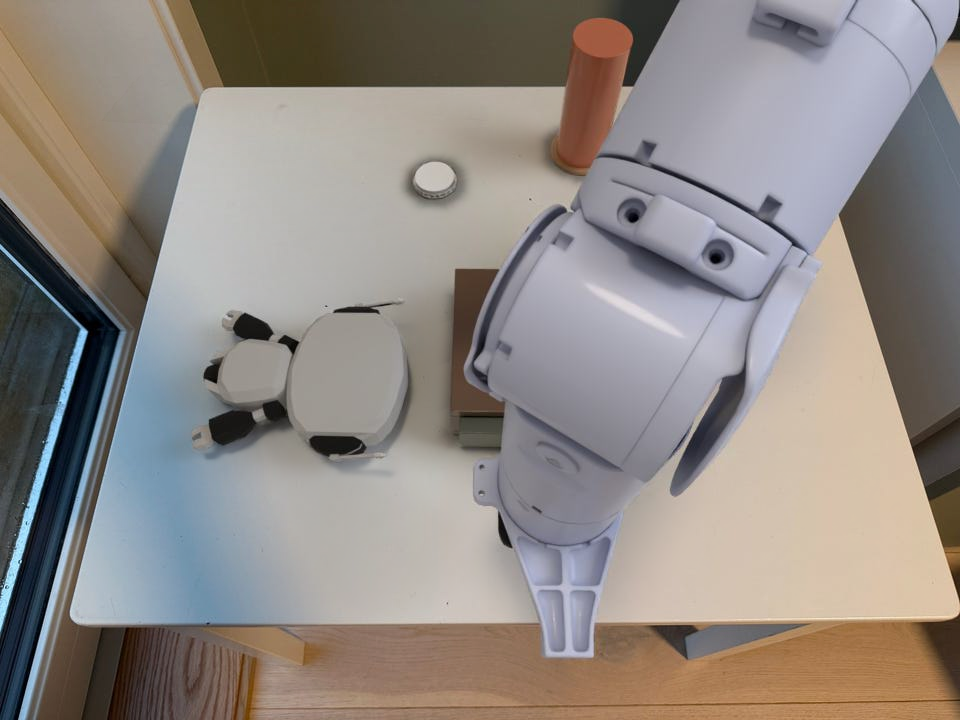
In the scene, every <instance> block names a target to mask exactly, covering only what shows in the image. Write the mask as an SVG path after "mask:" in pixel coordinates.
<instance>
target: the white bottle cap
mask: <svg viewBox="0 0 960 720" xmlns="http://www.w3.org/2000/svg"><path fill="white" fill-rule="evenodd" d="M411 179H412V184H413V188H414V190H415V192H417V193H418V194H419V195H421V196H422V197H425V198H428V199H441V198H445V197H447V196H449V195H450V194H452V193H453V192H454V190H455V189H456V187H457V185H458V174H457V171H456V169H455V167H453V165H451V164H450V163H448V162H446V161H443V160H440V159H432V160H427V161H424V162H422V163H421V164H419V165H418V166H417V167H415V169H414V171H413V173H412V178H411Z"/></svg>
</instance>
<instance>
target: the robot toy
mask: <svg viewBox="0 0 960 720" xmlns="http://www.w3.org/2000/svg"><path fill="white" fill-rule="evenodd" d="M406 301H407V300H406V299H404V298H394V299H393V300H386V301H380V302H374V303H366V304H363V303H362V302H360V303H355V304H354V305H353V306H349V305H348V306H346V307H340V308H337V309H334V310H333V311H332V312H327V313H325V314H324V315H322V316H320V317H317V318H316V319H315V320H314V321H313V322H312V323H311V324H310V325H309V326H308V327H307V329H306V330H305V331H304V333H303V334H302V336H301V338H300V341H299V340H298V339H296V338H293V337H291V336H289V335H287V334H283V335H282V336H281V337H280V336H278V335H276V334H275V332H274V330H273V329H272V328H271V326H270V325H269V323H268V322H266V321H264V320H262V319H261V318H258V317H256V316H254V315H252V314H250V313H247V312H243V311H241V310H237V309H236V310H235V309H230V310H228V311H227V312H226V314H225V315H226V316H227V317H228V318H230V320H229V319H228V318H225V317H223V318H222V319H221V322H220V323H221V327H222V328H223V329H224V330H225V331H227V332H233V333H234V335H235V336H237V337H238V338H240V339H242V340H241V341H238V342H236V343H235V344H234V345H233V346H230V347H227V348H223V349H221V350H217V351H216V352H215V353H214V354H213V355H212V357H211V358H210V359H209V362H210V363H211V364H210V365H208V366H206V368H205V369H204V372H203V375H202V378H203V381H204V383H205V387H206V389H207V390H208V391H209V392H210V393H211V394H212V395H214V396H215V398H217V399H218V400H219V401H220V402H222V403H224V404H227V405H229V406H231V407H232V408H233V409H235V410H233V409H232V410H229V411H227V412H224V413H221V414H219V415H216V416H214V417H211V418H209V419H208V425H198V426H197V427H196V428H194V429H193V430H191V432H190V435H189V437H190V440H191V447H192V448H193V449H194V450H196V451H204V450H209V449H210V448H211V447H213V445H215V443H216V444H217V445H218V446H222V447H224V446H226V445H228V444H231V443H233V442H236V441H238V440H242V439H244V438H246V437H247V436H248V435H249V433H250V432H251V431H252V430H253V429H254V428H255V427H256V425H257V424H258V423H259V422H262V421H265V420H268V421H270V422H271V423H274V422H277V421H280V420H282V419H285V418H287V415H288V420H289V422H290V423H291V425H292V427H293V429H294V431H295V432H296V434H298V435H299V437H301V439H303V441H305V442H307V443H308V444H309V446H310V447H311V449H312V450H314V452H316V453H317V454H320V455H322V456H324V457H326V458H328V459H329V460H328V461H330V462H333V463H341V462H343V461H344V460H359V459H360V460H362V459H384V458H385V457H387V456H388V454H386V453H384V452H381V451H379V452H374V453H365V452H366V449H367V448H369V447H372V446H375V445H378V444H381V443H382V442H383V441H384V440H385V439H386V438H387V436H389V434H391V432H392V430H393V429H394V427H395V425H396V424H397V421H398V419H399V416H400V414H401V411H402V408H403V405H404V401H405V397H406V395H407V390H408V388H409V373H408V358H407V353H406V349H405V345H404V342H403V340H402V337H401V334H400V332H399V330H398V328H397V326H396V325H395V323H394V322H393V320H392V319H391V318H389V317H387V316H384V315H382V314H381V313H380V311H379V309H376V308H381V307H386V306H394V305H396V306H400V305H403V304H405V302H406ZM286 411H287V412H286Z"/></svg>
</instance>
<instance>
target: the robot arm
mask: <svg viewBox="0 0 960 720" xmlns="http://www.w3.org/2000/svg"><path fill="white" fill-rule="evenodd" d="M959 10H960V0H679V1H678V3H677V4H676V7H675V8H674V11H672V15H671V16H670V18H669V20H668V22H667V24H665V28H664V29H663V31H662V33H661V35H660V36H659V38H658V41H657V42H656V44H655V46H654V48H653V49H652V51H651V53H650V55H649V57H648V59H647V61H646V62H645V64H644V66H643V68H642V70H641V72H640V74H639V76H638V77H637V79H636V81H635V83H634V85H633V87H632V88H631V90H630V93H629V94H628V96H627V98H626V100H625V102H624V103H623V106H622V107H621V108H620V111H619V113H618V114H617V117H616V118H615V119H614V121H613V125H612V128H611V130H610V131H609V133H608V135H607V137H606V139H605V141H604V143H603V144H602V146H601V148H600V150H599V152H598V154H597V156H596V159H595V160H594V161H593V163H592V165H591V167H590V169H589V170H588V172H587V174H586V175H584V178H583V180H582V181H581V184H580V185H579V188H578V190H577V192H576V194H575V196H574V197H573V200H572V202H571V204H570V206H569V207H570V210H571V211H568V209H567V208H566V207H565V206H564V205H562V204H560V203H555V204H552V205H551V206H549V207H547V208H546V209H545V210H543V211H542V212H541V213H539V215H538V216H537V217H535V218H534V220H533V221H532V222H531V223H530V224H529V225H528V226H527V228H526V230H525V231H524V232H523V233H522V234H521V235H520V236H519V238H518V240H517V241H516V242H515V244H514V245H513V247H512V249H511V250H510V252H509V253H508V254H507V256H506V258H505V259H504V262H502V265H501V267H500V268H499V269H500V270H499V272H498V274H497V275H496V277H495V279H494V281H493V283H492V285H491V287H490V290H489V292H488V294H487V296H486V298H485V301H484V303H483V306H482V308H481V311H480V313H479V316H478V319H477V323H476V326H475V330H474V334H473V340H472V346H471V349H470V352H469V355H468V357H467V360H466V362H465V365H464V375H465V378H466V380H467V381H468V382H469V383H470V384H471V385H473V386H475V387H476V388H478V389H480V390H481V391H483V392H486V393H489V395H490V396H492V397H493V398H495V399H497V400H498V401H500V402H502V401H504V402H505V411H504V422H503V432H502V443H501V447H500V451H499V453H498V455H496V456H494V457H483V458H479V459H477V460H476V461H475V462H474V465H473V468H472V497H473V500H474V503H476V504H477V505H479V506H482V507H493V508H495V509H496V510H497V533H498V536H499V539H500V541H501V543H502V545H503V546H505V547H507V548H509V549H511V550H512V551H513V553H514V556H515V558H516V561H517V563H518V566H519V570H520V572H521V575H522V577H523V580H524V582H525V586H526V588H527V591H528V593H529V596H530V599H531V602H532V604H533V605H532V606H533V607H534V611H535V614H536V617H537V621H538V624H539V629H540V636H539V649H540V651H539V652H540V653H539V654H540V655H539V656H540V658H542V659H592V658H594V656H595V652H594V651H595V644H594V639H595V637H594V635H595V625H596V618H597V615H598V614H597V613H598V608H599V605H600V602H601V597H602V594H603V589H604V586H605V582H606V579H607V575H608V572H609V568H610V565H611V560H612V557H613V554H614V550H615V546H616V544H617V543H616V542H617V539H618V535H619V531H620V528H621V524H622V521H623V518H624V517H623V516H624V512H625V510H626V508H627V507H628V506H629V505H630V504H631V503H632V502H633V500H634V499H636V497H637V496H638V495H639V494H640V493H641V492H642V491H643V490H644V489H645V488H646V486H648V484H649V483H650V482H651V481H652V480H653V479H654V478H655V476H657V474H659V472H660V471H661V470H662V469H663V468H664V467H665V466H666V465H667V464H668V462H670V460H671V459H672V458H673V457H674V456H675V455H676V454H677V453H678V451H679V450H681V448H682V446H684V444H685V442H686V441H687V439H688V437H689V435H690V433H691V431H692V429H693V426H694V423H695V420H696V419H697V417H698V415H699V414H700V412H701V411H702V409H703V408H704V406H705V404H706V402H707V401H708V399H709V398H710V396H711V394H713V392H714V389H715V388H716V386H717V385H718V383H720V384H719V386H718V391H717V392H716V394H715V396H713V399H712V400H711V401H710V404H709V406H708V407H707V409H706V411H705V413H704V414H703V415H702V418H701V419H700V421H699V423H698V424H697V426H696V428H695V430H694V432H693V433H692V436H691V438H690V439H689V441H688V442H687V445H686V447H685V449H684V451H683V453H682V455H681V457H680V459H679V460H678V463H677V465H676V468H675V469H674V470H675V471H674V473H673V476H672V478H671V482H670V486H669V493H670V495H671V497H674V498H676V497H679V496H680V495H682V494H683V493H684V492H685V491H686V490H687V489H688V488H689V487H691V485H692V484H693V483H694V482H695V481H696V480H697V479H698V478H699V477H700V476H701V475H702V474H703V473H704V471H705V470H706V469H707V468H708V467H709V466H710V465H711V464H712V463H713V462H714V461H715V460H716V459H717V457H718V456H719V455H720V454H721V453H722V451H723V450H724V449H725V447H726V446H727V445H728V443H729V442H730V441H731V439H732V438H733V437H734V435H735V434H736V432H737V431H738V430H739V428H740V426H741V425H742V423H743V422H744V420H745V419H746V417H747V416H748V414H749V413H750V411H751V409H752V408H753V406H754V404H755V403H756V401H757V399H758V398H759V396H760V394H761V393H762V391H763V390H764V387H765V385H766V384H767V382H768V380H769V378H770V376H771V374H772V372H773V370H774V368H775V367H776V364H777V362H778V359H779V357H780V355H781V352H782V350H783V347H784V344H785V342H786V340H787V339H786V338H787V336H788V334H789V332H790V329H791V327H792V324H793V322H794V319H795V317H796V314H797V313H798V310H799V309H800V306H801V305H802V303H803V300H804V298H805V297H806V295H807V293H808V291H809V290H810V288H811V287H812V285H813V283H814V281H815V280H816V278H817V275H818V273H819V271H820V270H821V268H822V265H823V263H824V262H823V261H822V260H820V259H818V258H815V257H814V255H815V253H816V252H817V250H818V249H819V247H820V246H821V244H822V242H823V240H824V239H825V237H826V236H827V234H828V233H829V230H830V229H831V228H832V226H833V224H834V223H835V222H836V219H837V218H838V216H839V215H840V214H841V212H842V210H843V208H844V207H845V205H846V203H847V202H848V201H849V199H850V197H851V195H852V194H853V192H854V190H855V189H856V187H857V186H858V184H859V183H860V181H861V179H862V178H863V176H864V174H865V173H866V171H867V170H868V168H869V166H870V165H871V164H872V162H873V160H874V158H875V157H876V156H877V154H878V153H879V151H880V149H881V147H882V146H883V144H884V143H885V141H886V139H888V136H889V135H890V134H891V131H893V128H894V126H895V125H896V124H897V122H898V120H899V118H900V117H901V115H902V114H903V112H904V110H905V109H906V107H907V106H908V104H909V103H910V101H911V99H912V98H913V96H914V95H915V94H916V91H917V90H918V89H919V87H920V85H921V83H922V82H923V80H924V78H925V77H926V76H927V74H928V72H929V71H930V69H931V67H932V65H933V63H934V62H935V60H936V59H937V57H938V55H939V54H940V52H941V51H942V49H943V48H944V46H945V44H946V43H947V41H948V39H950V37H951V35H952V34H953V32H954V30H955V27H956V24H957V21H958V17H959V12H960V11H959Z"/></svg>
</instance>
